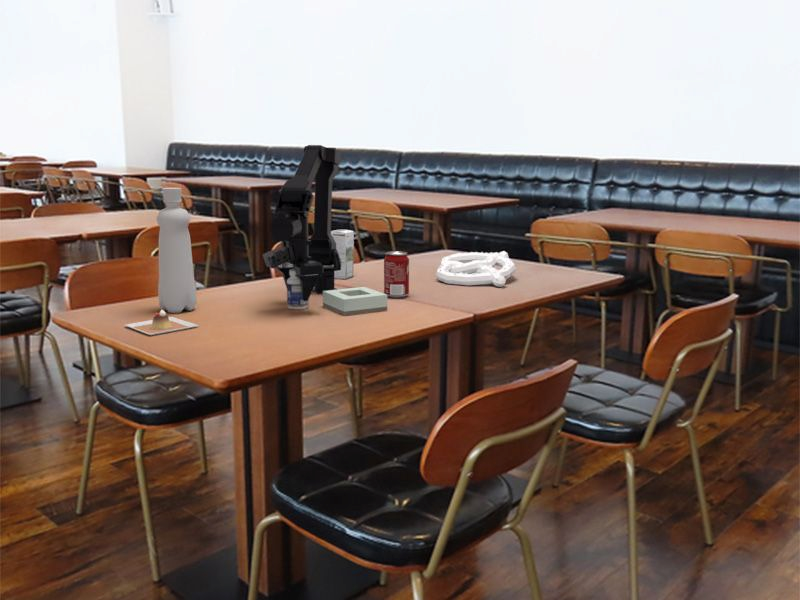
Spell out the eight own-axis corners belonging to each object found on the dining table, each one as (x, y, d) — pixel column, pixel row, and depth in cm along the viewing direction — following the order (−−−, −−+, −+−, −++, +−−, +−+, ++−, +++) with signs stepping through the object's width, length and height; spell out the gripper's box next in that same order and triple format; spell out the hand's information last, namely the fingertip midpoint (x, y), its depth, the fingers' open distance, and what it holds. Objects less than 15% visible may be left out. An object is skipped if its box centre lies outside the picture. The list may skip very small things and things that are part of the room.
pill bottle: (288, 305, 198) (287, 267, 196) (309, 305, 199) (308, 267, 197) (286, 310, 193) (285, 271, 191) (308, 309, 193) (307, 271, 191)
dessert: (123, 329, 175) (122, 308, 174) (172, 321, 183) (171, 301, 182) (149, 339, 166) (148, 317, 165) (199, 330, 175) (198, 309, 174)
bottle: (184, 304, 198) (178, 186, 192) (204, 309, 192) (198, 188, 186) (152, 309, 192) (144, 188, 186) (171, 315, 186) (164, 190, 180)
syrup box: (337, 275, 242) (336, 229, 239) (354, 276, 240) (354, 230, 237) (328, 278, 236) (328, 231, 233) (346, 279, 234) (346, 232, 231)
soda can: (406, 299, 206) (406, 254, 204) (381, 298, 208) (381, 254, 205) (410, 294, 213) (411, 251, 210) (386, 293, 214) (387, 250, 212)
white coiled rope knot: (514, 293, 223) (514, 272, 221) (433, 293, 227) (432, 272, 225) (517, 265, 249) (517, 246, 247) (444, 265, 253) (443, 246, 251)
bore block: (323, 306, 197) (322, 291, 196) (364, 301, 203) (364, 286, 202) (344, 315, 187) (344, 299, 186) (387, 310, 193) (387, 294, 192)
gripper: (252, 234, 196) (254, 294, 199) (280, 242, 180) (282, 308, 183) (293, 231, 201) (294, 290, 205) (324, 239, 186) (325, 303, 189)
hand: (297, 297), depth 195 cm, fingers open, 9 cm apart
